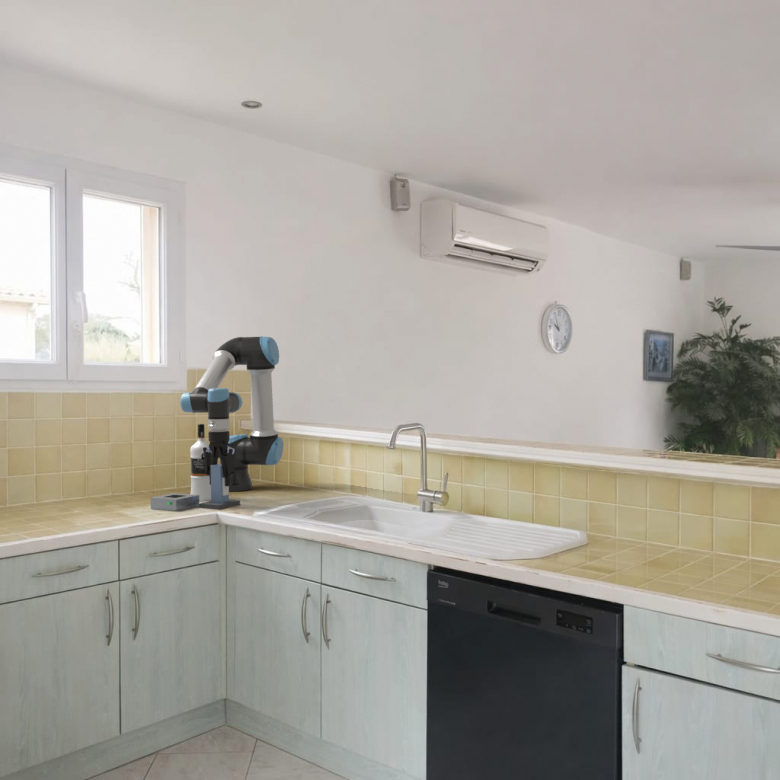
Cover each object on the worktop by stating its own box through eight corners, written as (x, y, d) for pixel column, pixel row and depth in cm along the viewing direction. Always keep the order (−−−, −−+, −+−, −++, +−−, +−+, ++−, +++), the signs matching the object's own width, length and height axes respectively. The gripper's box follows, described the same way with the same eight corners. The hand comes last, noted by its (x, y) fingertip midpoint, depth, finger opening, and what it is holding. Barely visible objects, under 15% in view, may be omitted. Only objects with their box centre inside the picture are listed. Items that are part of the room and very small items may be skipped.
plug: (219, 501, 296) (218, 463, 296) (228, 502, 294) (228, 464, 294) (211, 503, 292) (210, 465, 292) (220, 504, 290) (220, 465, 290)
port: (174, 506, 299) (174, 493, 299) (199, 508, 294) (199, 495, 293) (149, 511, 288) (149, 497, 288) (174, 514, 282) (174, 500, 282)
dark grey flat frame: (220, 505, 300) (220, 498, 300) (240, 507, 296) (240, 500, 296) (199, 510, 290) (199, 503, 290) (218, 512, 286) (218, 505, 285)
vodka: (211, 499, 316) (210, 422, 315) (216, 502, 308) (216, 424, 307) (187, 501, 312) (186, 423, 311) (192, 504, 303) (191, 425, 303)
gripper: (193, 430, 293) (194, 494, 294) (231, 432, 285) (232, 497, 286) (206, 429, 300) (208, 491, 300) (244, 430, 292) (245, 494, 292)
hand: (219, 494), depth 293 cm, fingers closed on plug, 4 cm apart
